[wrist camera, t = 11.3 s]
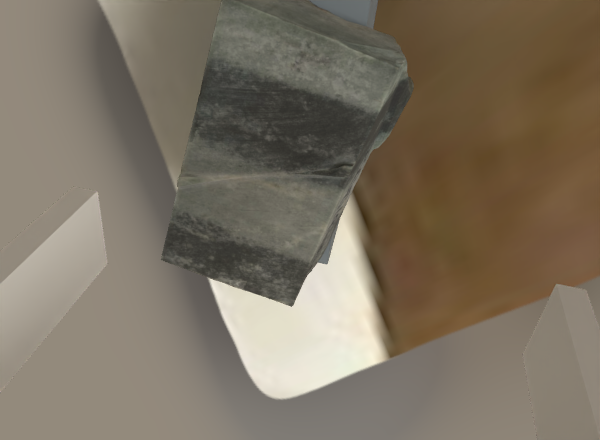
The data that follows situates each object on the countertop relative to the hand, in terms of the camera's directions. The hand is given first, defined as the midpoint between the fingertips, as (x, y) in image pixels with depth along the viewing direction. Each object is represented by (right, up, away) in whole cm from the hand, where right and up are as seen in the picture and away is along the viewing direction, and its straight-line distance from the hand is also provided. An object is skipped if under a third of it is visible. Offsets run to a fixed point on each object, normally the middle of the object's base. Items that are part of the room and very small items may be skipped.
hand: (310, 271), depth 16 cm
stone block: (0, +6, +14) cm, 15 cm away
